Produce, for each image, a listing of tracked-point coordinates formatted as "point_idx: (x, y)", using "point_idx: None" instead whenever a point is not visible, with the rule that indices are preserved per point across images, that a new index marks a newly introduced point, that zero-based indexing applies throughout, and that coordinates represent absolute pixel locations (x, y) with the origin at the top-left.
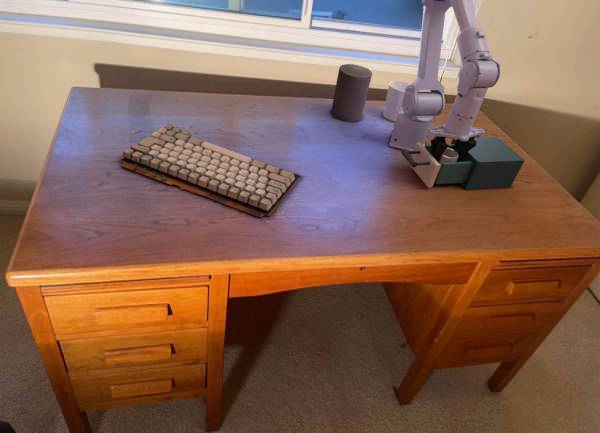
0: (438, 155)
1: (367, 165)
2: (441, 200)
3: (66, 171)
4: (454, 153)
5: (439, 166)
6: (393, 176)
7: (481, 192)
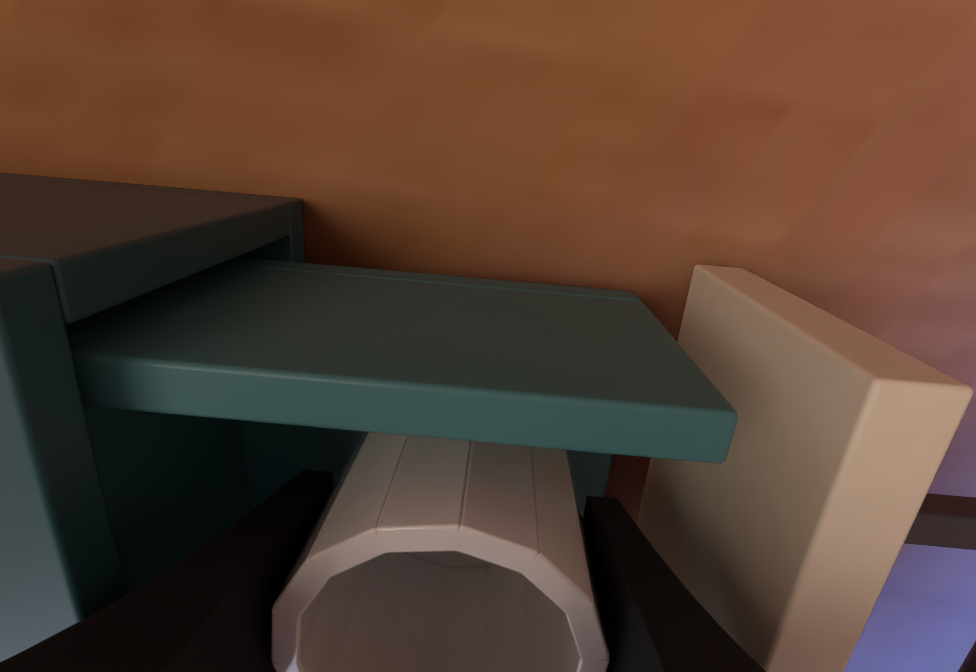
0: (713, 624)
1: (968, 640)
2: (692, 74)
3: None
4: (309, 630)
5: (884, 370)
6: None
7: (146, 125)
